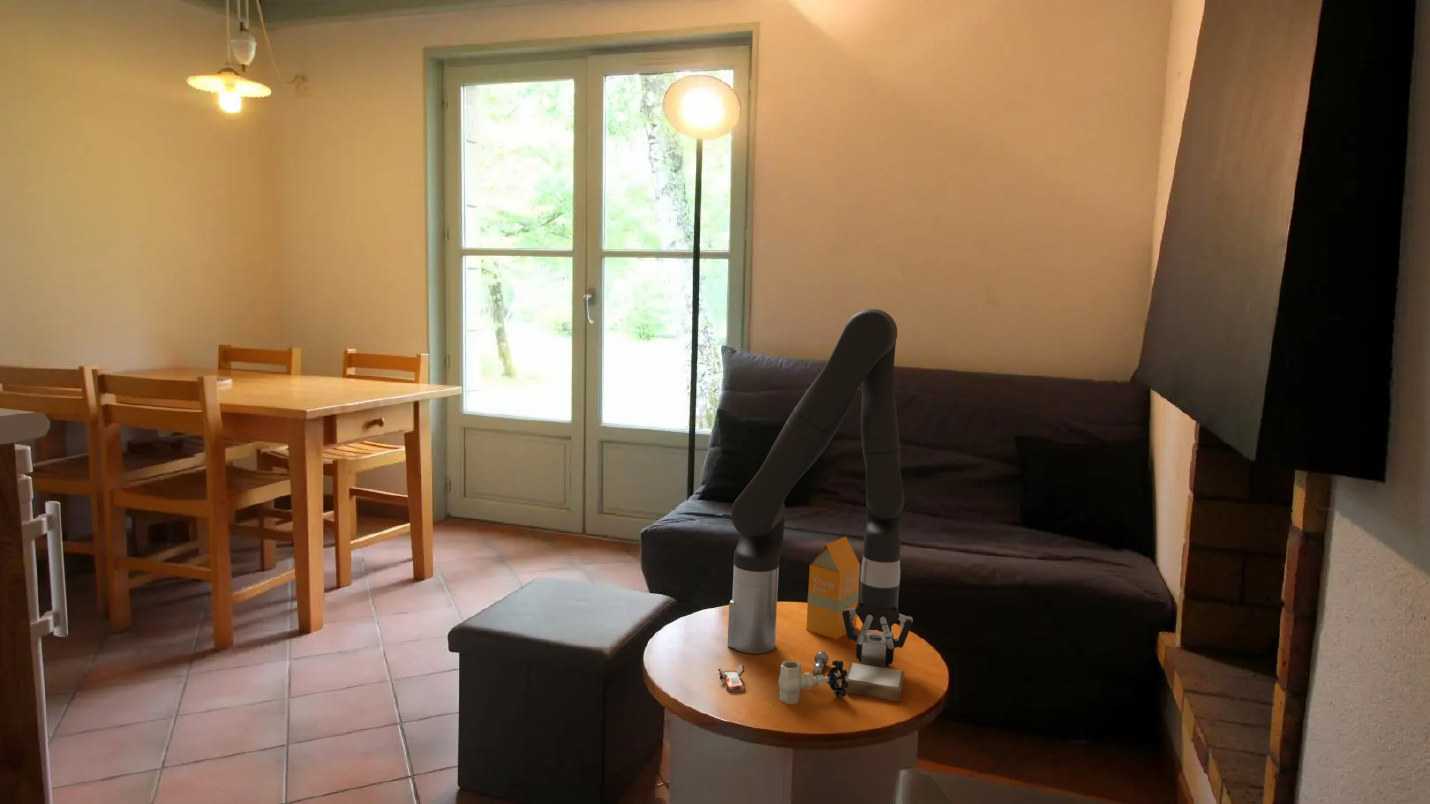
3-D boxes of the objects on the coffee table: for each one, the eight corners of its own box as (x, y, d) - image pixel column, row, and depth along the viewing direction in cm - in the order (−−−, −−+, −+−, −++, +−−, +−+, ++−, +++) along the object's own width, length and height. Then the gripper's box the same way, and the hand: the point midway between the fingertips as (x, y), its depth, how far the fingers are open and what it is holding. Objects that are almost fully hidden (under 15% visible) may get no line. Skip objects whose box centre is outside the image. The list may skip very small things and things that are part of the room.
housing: (860, 671, 165) (862, 641, 164) (864, 658, 171) (866, 629, 170) (884, 675, 164) (886, 644, 163) (886, 662, 169) (888, 633, 169)
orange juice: (856, 627, 187) (862, 539, 184) (836, 639, 180) (842, 548, 177) (826, 618, 191) (831, 532, 189) (805, 629, 184) (810, 540, 182)
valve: (783, 709, 149) (847, 703, 152) (785, 673, 148) (849, 668, 151) (772, 692, 155) (833, 687, 158) (774, 657, 154) (835, 653, 157)
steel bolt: (823, 677, 162) (823, 664, 161) (809, 675, 162) (810, 662, 162) (828, 664, 167) (828, 652, 167) (815, 662, 168) (815, 650, 168)
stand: (844, 692, 156) (845, 679, 156) (850, 673, 164) (851, 661, 163) (899, 701, 153) (900, 688, 153) (903, 682, 161) (904, 670, 160)
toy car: (740, 673, 163) (741, 658, 162) (750, 693, 155) (750, 676, 154) (713, 675, 162) (714, 659, 161) (722, 694, 154) (722, 678, 153)
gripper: (840, 580, 163) (835, 664, 165) (916, 590, 159) (910, 676, 161) (845, 568, 170) (840, 649, 173) (918, 578, 166) (912, 660, 169)
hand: (874, 662), depth 167 cm, fingers closed on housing, 4 cm apart
